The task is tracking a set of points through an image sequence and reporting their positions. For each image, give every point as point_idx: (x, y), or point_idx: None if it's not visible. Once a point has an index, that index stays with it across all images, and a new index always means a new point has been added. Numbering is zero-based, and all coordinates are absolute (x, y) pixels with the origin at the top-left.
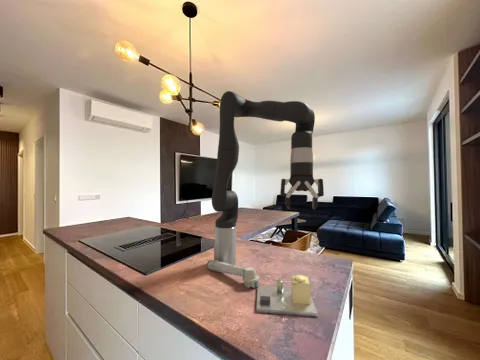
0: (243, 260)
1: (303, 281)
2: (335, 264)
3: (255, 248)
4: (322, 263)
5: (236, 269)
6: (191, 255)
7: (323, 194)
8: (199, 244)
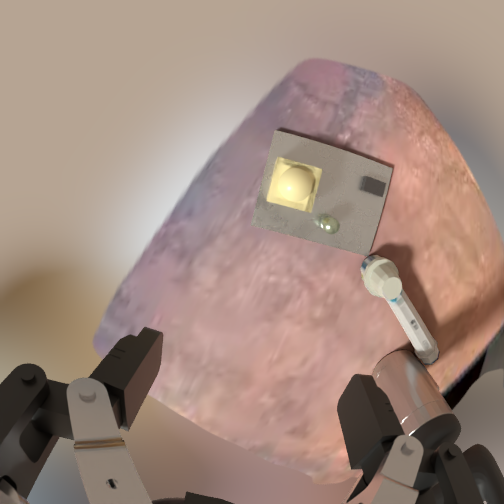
0: None
1: (293, 168)
2: None
3: (291, 440)
4: None
5: (410, 304)
6: None
7: (16, 370)
8: None
